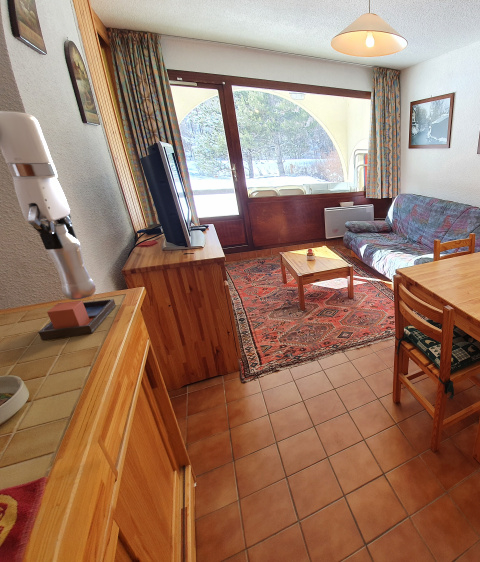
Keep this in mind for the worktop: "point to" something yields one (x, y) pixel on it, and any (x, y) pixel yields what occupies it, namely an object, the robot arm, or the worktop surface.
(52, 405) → the worktop surface
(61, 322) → the red block
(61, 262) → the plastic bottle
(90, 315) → the sorting tray
